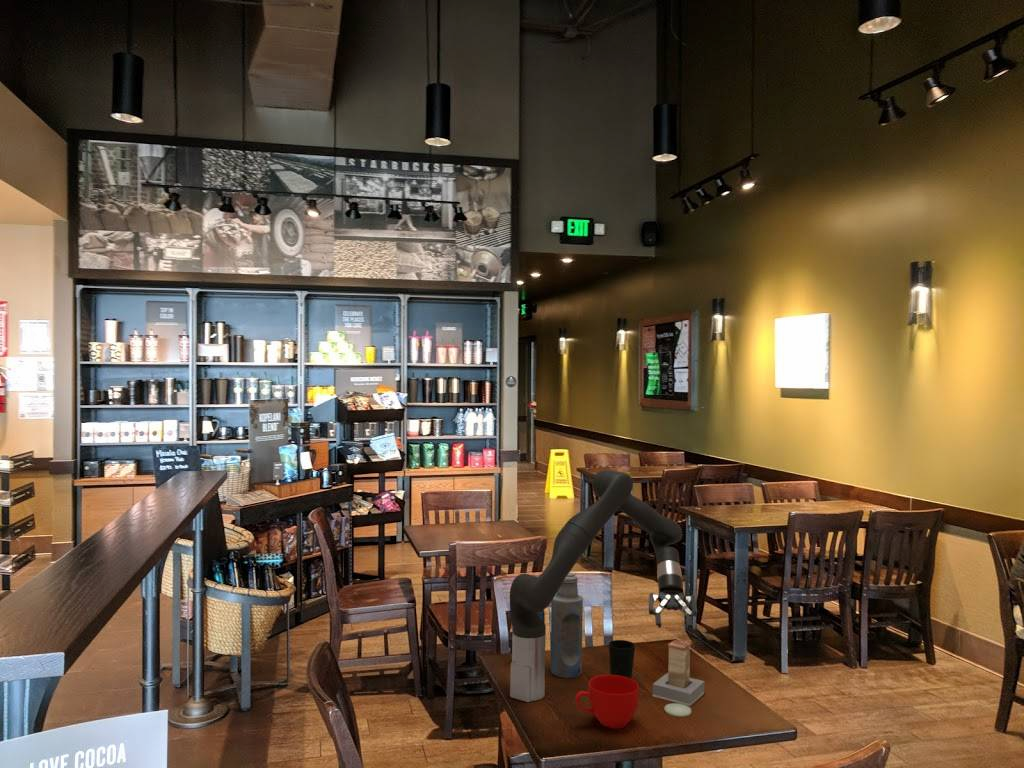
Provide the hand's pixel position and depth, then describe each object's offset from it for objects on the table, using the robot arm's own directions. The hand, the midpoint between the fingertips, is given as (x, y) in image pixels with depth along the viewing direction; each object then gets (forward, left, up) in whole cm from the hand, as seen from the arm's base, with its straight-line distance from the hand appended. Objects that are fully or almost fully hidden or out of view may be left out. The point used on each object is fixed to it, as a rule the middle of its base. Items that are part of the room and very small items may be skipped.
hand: (674, 627), depth 221 cm
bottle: (-14, +29, -16) cm, 36 cm away
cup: (-13, +11, -16) cm, 23 cm away
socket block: (-9, -5, -16) cm, 19 cm away
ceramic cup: (-38, +3, -16) cm, 41 cm away
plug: (-9, -5, -15) cm, 18 cm away
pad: (-19, -9, -16) cm, 27 cm away
